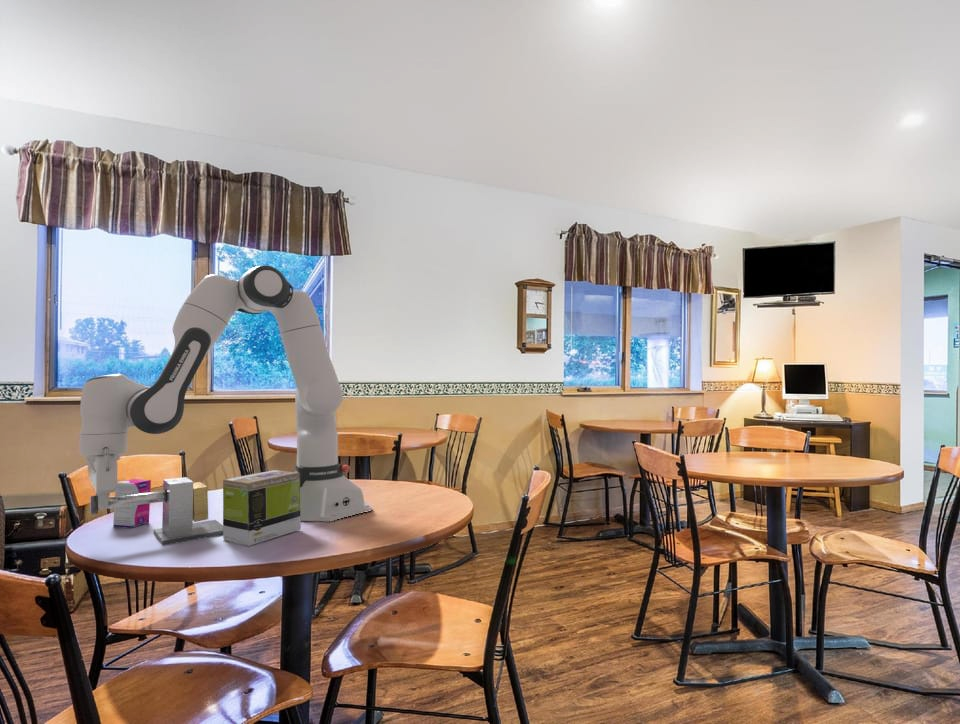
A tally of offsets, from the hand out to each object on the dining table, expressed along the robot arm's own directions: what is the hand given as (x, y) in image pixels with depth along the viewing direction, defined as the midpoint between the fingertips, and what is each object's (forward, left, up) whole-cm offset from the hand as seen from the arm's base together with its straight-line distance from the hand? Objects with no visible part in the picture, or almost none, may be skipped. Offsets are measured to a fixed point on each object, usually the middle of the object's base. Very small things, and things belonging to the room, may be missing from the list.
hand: (102, 507), depth 117 cm
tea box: (-31, +13, -10) cm, 35 cm away
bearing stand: (-18, 0, -9) cm, 20 cm away
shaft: (-7, 0, -1) cm, 8 cm away
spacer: (-19, 0, -6) cm, 20 cm away
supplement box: (-8, -19, -10) cm, 23 cm away
